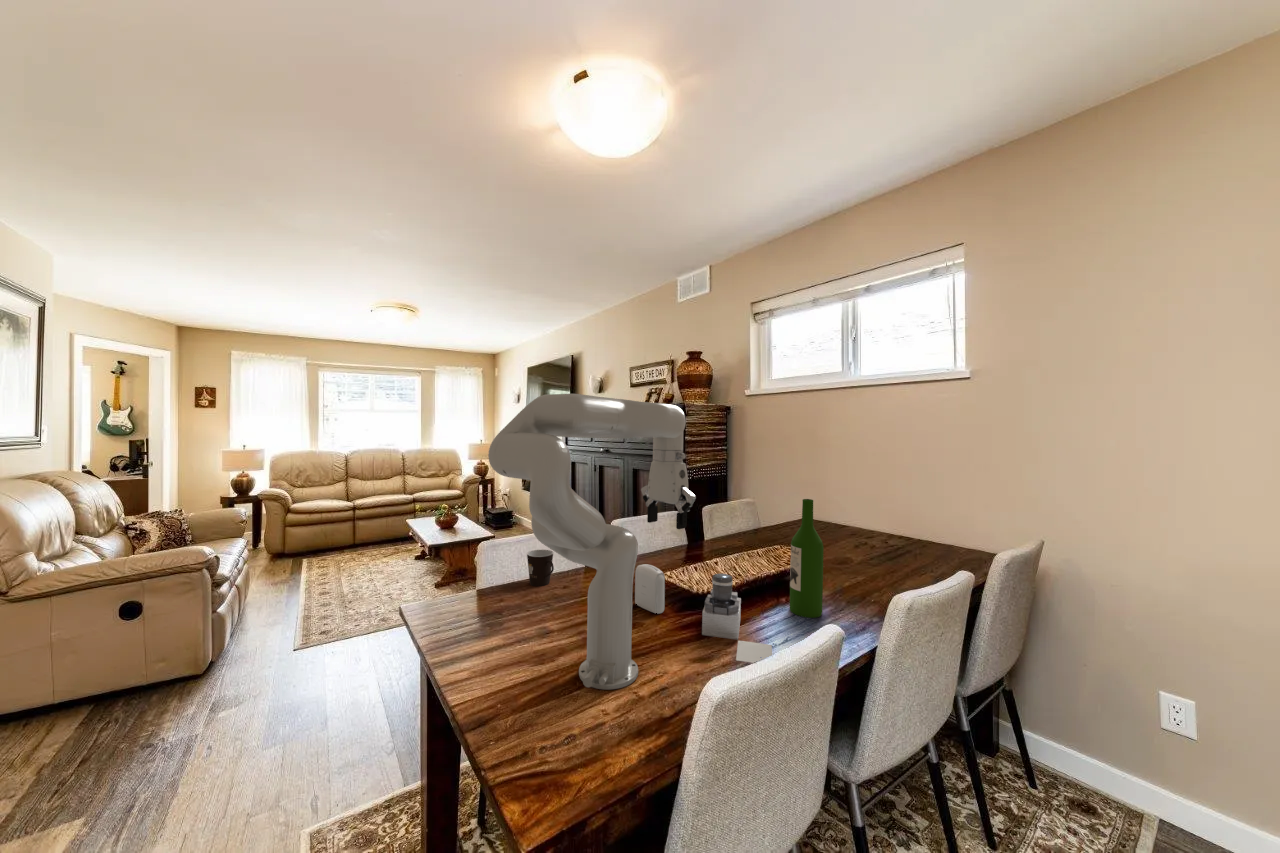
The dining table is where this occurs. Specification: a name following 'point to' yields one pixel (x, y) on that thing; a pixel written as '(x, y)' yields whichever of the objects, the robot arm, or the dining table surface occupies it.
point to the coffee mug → (540, 567)
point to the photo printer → (650, 588)
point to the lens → (722, 590)
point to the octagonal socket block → (722, 618)
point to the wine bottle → (806, 567)
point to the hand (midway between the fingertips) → (666, 525)
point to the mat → (752, 651)
